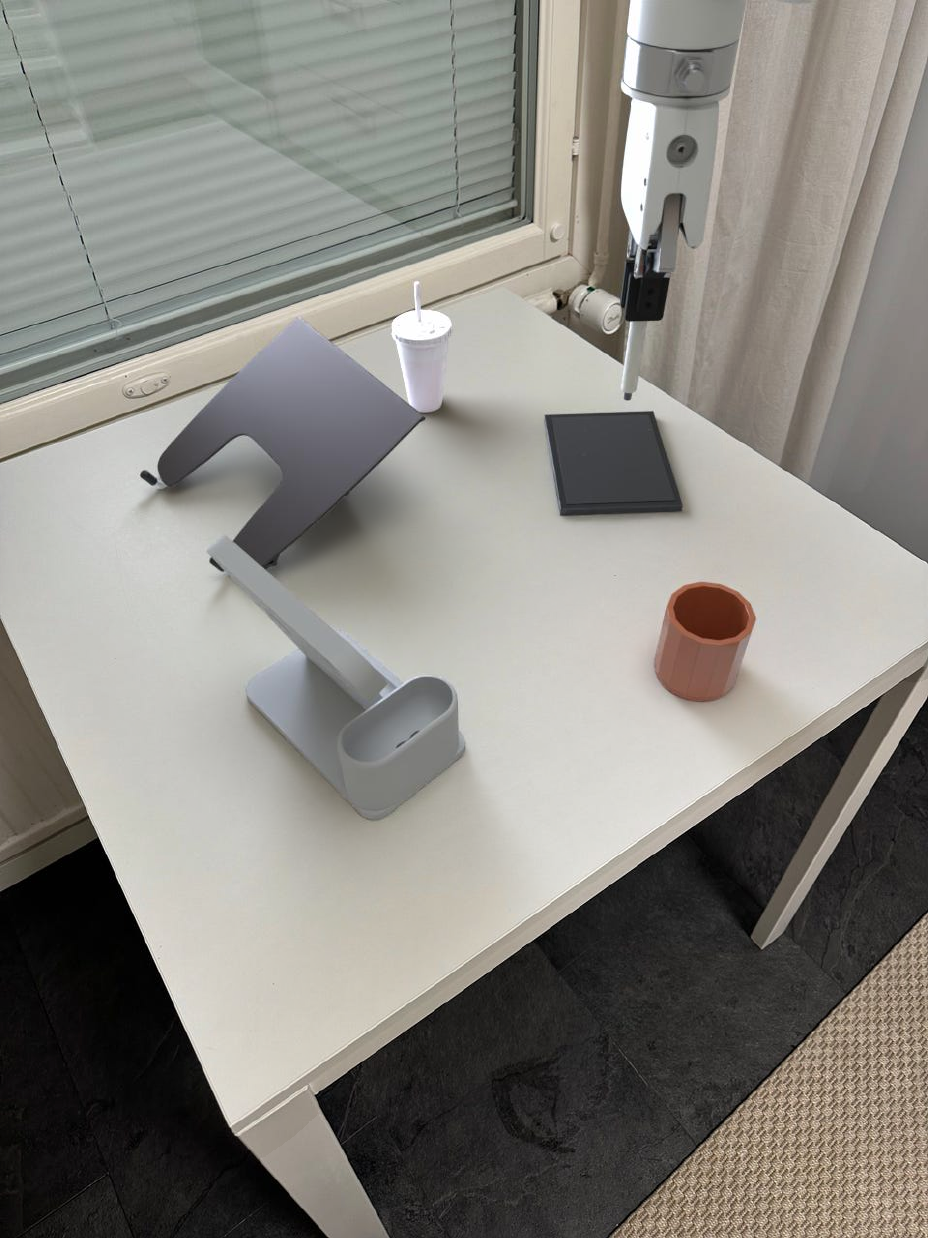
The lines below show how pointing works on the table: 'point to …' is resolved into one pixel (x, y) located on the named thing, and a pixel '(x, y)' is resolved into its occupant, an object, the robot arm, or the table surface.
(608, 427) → the tablet
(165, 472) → the laptop tray
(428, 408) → the smoothie
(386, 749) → the phone holder
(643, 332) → the stylus
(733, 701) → the table surface
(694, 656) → the pencil cup
